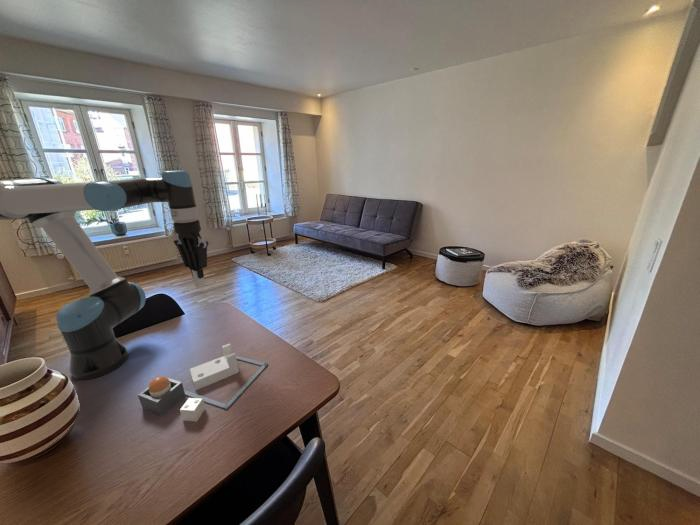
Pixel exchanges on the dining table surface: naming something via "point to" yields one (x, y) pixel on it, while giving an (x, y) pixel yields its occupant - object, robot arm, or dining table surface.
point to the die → (192, 409)
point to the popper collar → (162, 398)
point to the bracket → (215, 369)
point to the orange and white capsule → (159, 386)
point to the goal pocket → (226, 406)
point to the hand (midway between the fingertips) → (200, 285)
